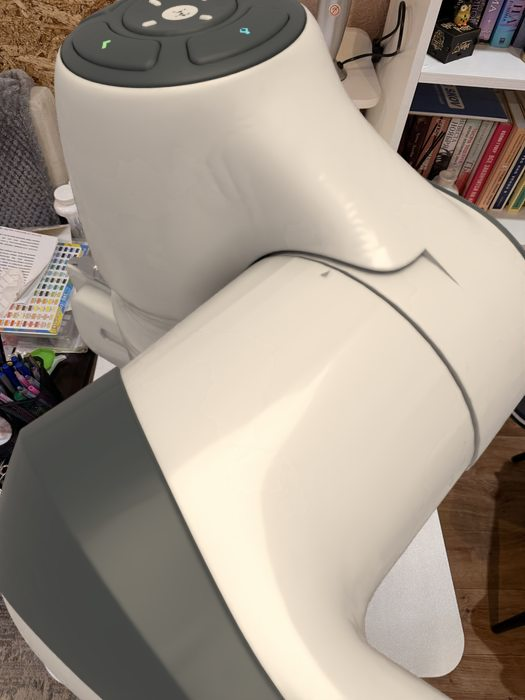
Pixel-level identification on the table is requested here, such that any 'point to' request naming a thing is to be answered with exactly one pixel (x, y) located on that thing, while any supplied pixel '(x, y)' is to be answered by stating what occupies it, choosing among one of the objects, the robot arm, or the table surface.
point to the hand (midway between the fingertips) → (215, 423)
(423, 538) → the table surface
